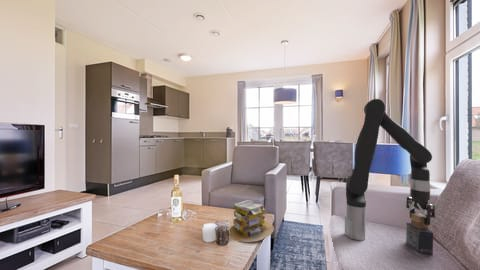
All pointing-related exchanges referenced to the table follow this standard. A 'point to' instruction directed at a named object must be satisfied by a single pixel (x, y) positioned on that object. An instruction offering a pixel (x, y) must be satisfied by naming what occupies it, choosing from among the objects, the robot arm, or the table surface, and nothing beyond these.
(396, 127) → the robot arm
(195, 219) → the table surface
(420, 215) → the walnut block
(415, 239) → the small box
